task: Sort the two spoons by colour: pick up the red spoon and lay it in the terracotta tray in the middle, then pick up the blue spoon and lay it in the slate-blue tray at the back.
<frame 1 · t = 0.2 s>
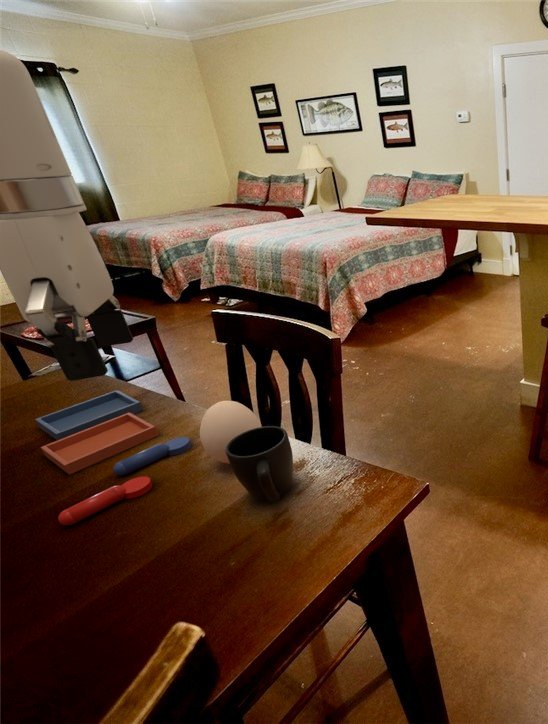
hand: (104, 359, 53), 28 cm above the table, tool pointing down, fingers open, 9 cm apart
blue tray: (93, 418, 94), on the table
blue spoon: (158, 458, 83), on the table
red spoon: (113, 502, 73), on the table
mug: (274, 498, 74), on the table
egg: (241, 460, 82), on the table
terracotta tray: (104, 445, 86), on the table
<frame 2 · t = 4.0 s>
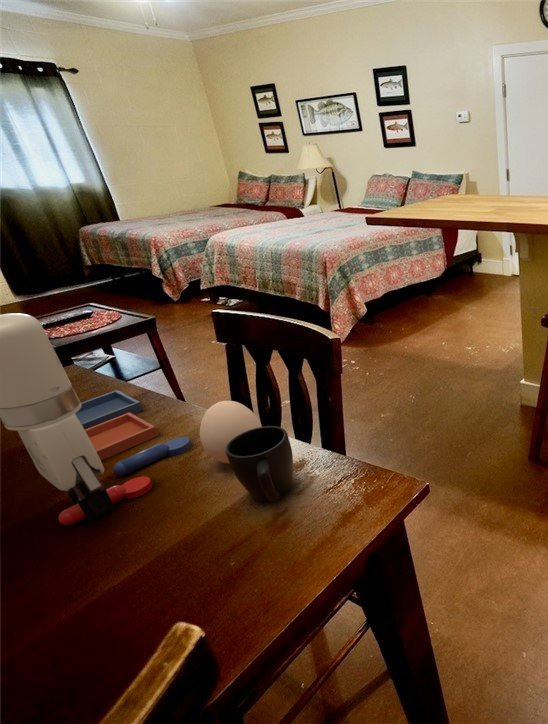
hand: (96, 509, 71), 0 cm above the table, tool pointing down, fingers closed on red spoon, 2 cm apart
red spoon: (113, 502, 73), on the table, touching gripper
everything else where it was.
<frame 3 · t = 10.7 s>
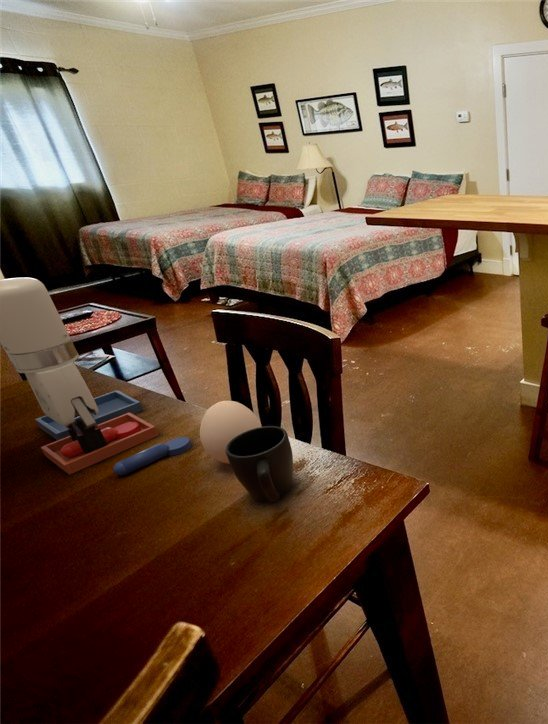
hand: (92, 446, 85), 1 cm above the table, tool pointing down, fingers closed on red spoon, 2 cm apart
red spoon: (106, 441, 86), point 1 cm above the table, touching gripper, terracotta tray
everything else where it was.
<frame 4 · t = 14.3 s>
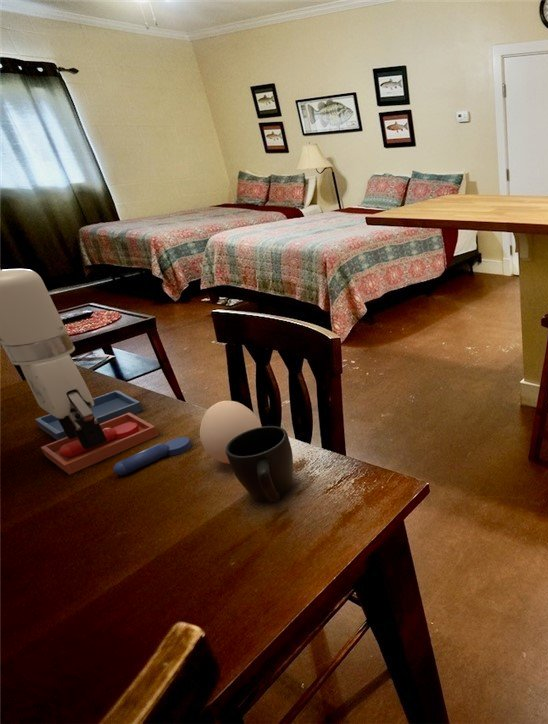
hand: (87, 439, 84), 2 cm above the table, tool pointing down, fingers open, 5 cm apart
red spoon: (105, 442, 86), point 1 cm above the table, touching terracotta tray
everything else where it was.
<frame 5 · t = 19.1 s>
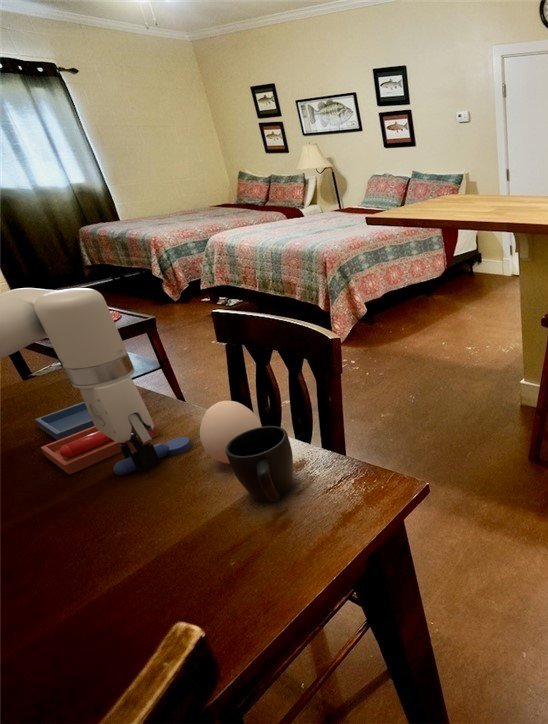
hand: (144, 463, 81), 0 cm above the table, tool pointing down, fingers closed on blue spoon, 2 cm apart
blue spoon: (158, 458, 83), on the table, touching gripper
everything else where it was.
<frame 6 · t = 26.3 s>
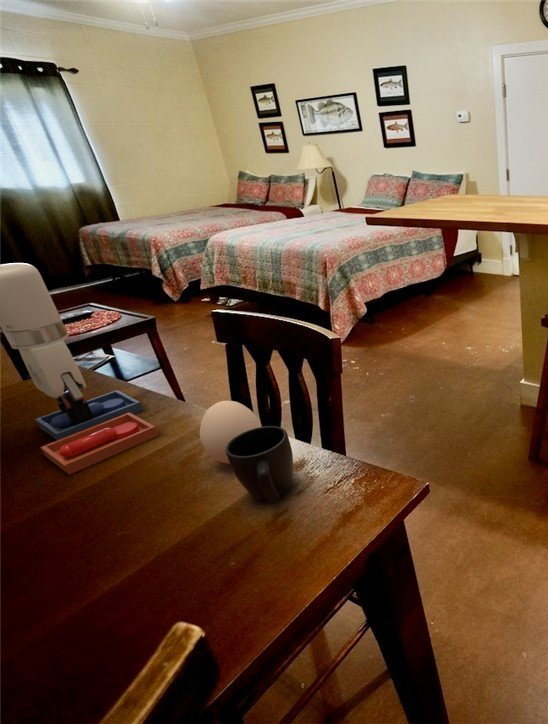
hand: (80, 419, 93), 1 cm above the table, tool pointing down, fingers closed on blue spoon, 2 cm apart
blue spoon: (93, 415, 94), point 1 cm above the table, touching gripper
everything else where it was.
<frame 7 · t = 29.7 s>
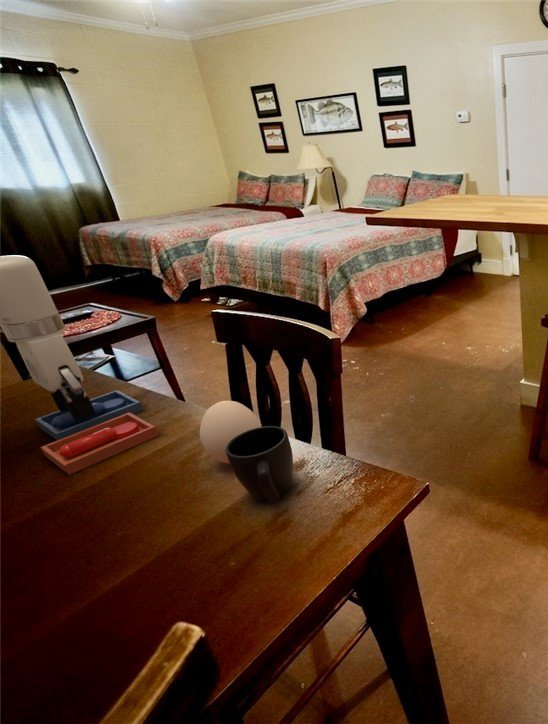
hand: (77, 411, 92), 2 cm above the table, tool pointing down, fingers open, 6 cm apart
blue spoon: (94, 415, 94), resting on blue tray
everything else where it was.
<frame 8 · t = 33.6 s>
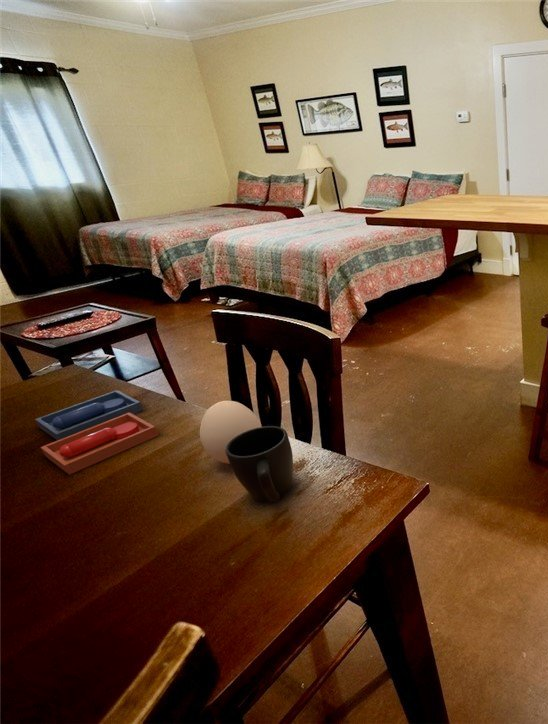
nothing on the table moved.
at the end: red spoon 0.4 cm off-centre in the terracotta tray, point 0.5 cm above the terracotta tray's base; blue spoon 0.4 cm off-centre in the blue tray, point 0.5 cm above the blue tray's base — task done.
